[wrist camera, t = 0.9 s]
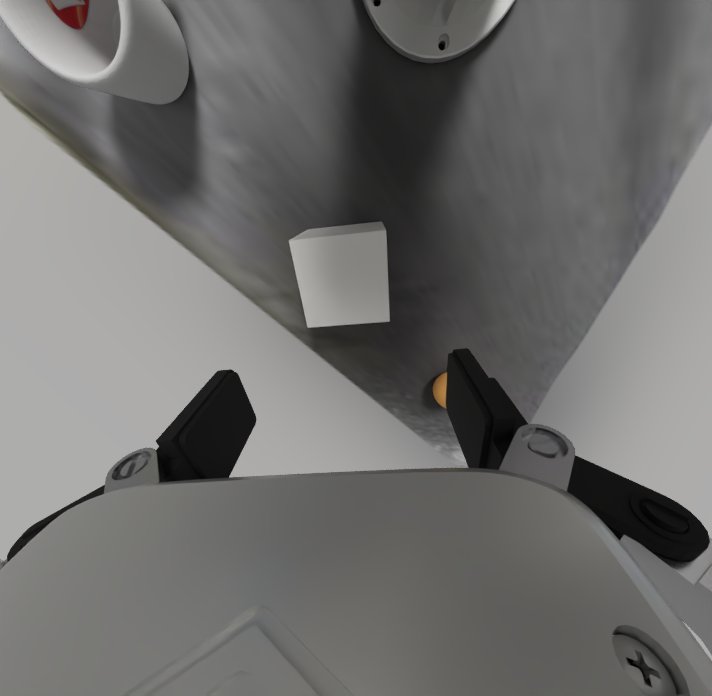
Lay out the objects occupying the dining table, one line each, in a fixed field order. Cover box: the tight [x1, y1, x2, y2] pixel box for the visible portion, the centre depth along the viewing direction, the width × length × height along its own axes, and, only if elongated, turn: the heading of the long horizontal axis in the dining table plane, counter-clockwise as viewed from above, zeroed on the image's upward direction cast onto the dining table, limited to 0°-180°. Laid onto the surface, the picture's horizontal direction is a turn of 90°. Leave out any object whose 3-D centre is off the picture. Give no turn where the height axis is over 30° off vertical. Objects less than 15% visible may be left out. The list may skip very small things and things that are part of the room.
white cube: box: [289, 221, 390, 328], centre depth 25 cm, size 8×8×8 cm
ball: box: [433, 372, 447, 408], centre depth 34 cm, size 5×5×5 cm
